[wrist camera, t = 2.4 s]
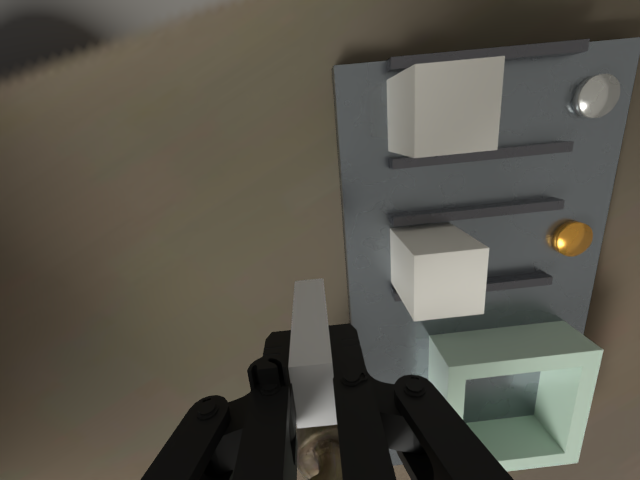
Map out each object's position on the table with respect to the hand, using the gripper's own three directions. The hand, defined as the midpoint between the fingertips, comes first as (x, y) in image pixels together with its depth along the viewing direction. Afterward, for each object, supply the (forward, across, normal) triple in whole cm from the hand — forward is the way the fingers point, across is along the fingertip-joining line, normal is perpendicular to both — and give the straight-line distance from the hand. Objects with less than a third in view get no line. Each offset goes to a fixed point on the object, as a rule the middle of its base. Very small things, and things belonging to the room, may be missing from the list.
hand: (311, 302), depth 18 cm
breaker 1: (+5, +8, +9) cm, 13 cm away
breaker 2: (+5, +8, 0) cm, 9 cm away
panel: (+7, +12, -4) cm, 14 cm away
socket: (+5, +14, -12) cm, 19 cm away
